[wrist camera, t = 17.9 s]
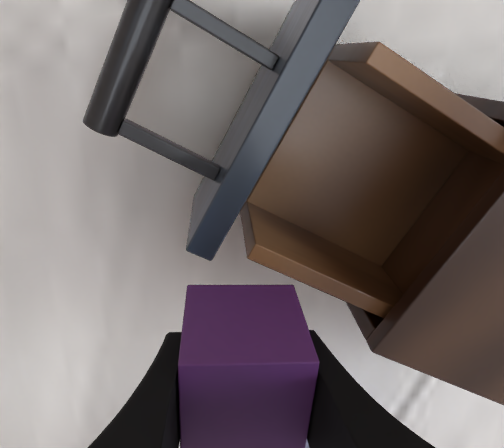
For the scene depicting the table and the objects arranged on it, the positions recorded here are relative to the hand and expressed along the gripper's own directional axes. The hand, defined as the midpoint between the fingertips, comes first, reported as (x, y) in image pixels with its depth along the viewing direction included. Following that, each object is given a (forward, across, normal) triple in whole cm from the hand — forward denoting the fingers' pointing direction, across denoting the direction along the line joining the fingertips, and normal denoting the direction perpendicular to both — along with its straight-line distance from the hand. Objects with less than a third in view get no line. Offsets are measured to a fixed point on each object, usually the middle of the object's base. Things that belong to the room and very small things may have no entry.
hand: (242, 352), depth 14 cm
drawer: (+10, -3, -6) cm, 12 cm away
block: (+1, 0, 0) cm, 1 cm away
